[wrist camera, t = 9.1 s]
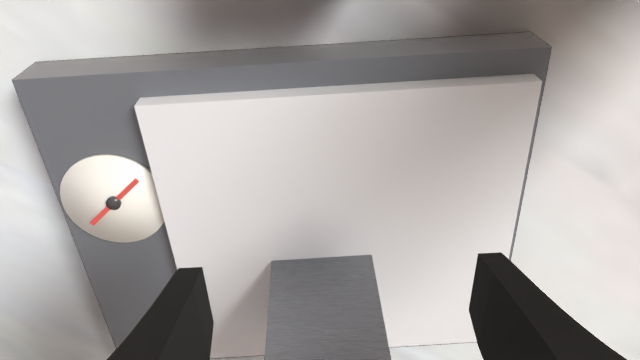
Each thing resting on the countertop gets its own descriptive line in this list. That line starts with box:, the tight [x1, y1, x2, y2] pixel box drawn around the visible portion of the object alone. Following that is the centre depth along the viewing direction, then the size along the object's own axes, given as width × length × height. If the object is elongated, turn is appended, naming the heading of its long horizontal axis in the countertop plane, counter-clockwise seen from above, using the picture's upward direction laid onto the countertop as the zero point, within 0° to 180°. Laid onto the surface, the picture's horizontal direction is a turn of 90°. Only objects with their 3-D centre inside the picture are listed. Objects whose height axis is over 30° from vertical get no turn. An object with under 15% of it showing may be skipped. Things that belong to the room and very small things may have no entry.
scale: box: [12, 32, 552, 359], centre depth 24 cm, size 20×16×3 cm
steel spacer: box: [264, 255, 391, 360], centre depth 21 cm, size 4×4×6 cm
